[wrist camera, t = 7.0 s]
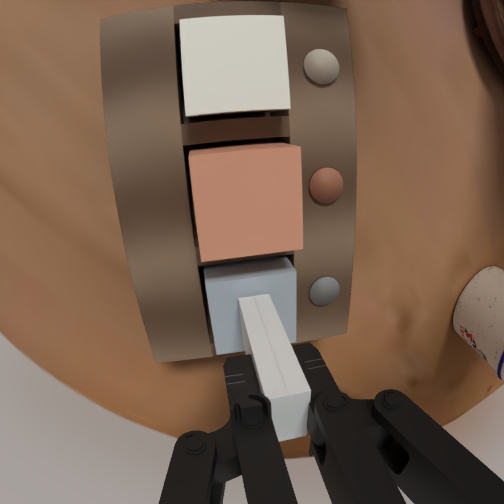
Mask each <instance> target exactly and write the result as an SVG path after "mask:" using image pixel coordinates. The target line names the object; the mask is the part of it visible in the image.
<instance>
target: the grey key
mask: <svg viewBox="0 0 504 504" xmlns="http://www.w3.org/2000/svg"><path fill="white" fill-rule="evenodd" d="M204 275H205V286H206V292H207V299H208V305H209V312H210V318H211V324H212V330H213V336H214V342H215V348H216V354H217V355H220V354H227V353H234V352H241V351H245V349H244V345H243V339H242V329H241V320H240V310H239V300H238V298H243V297H250V296H257V295H264V294H269V295H270V298H271V300H272V302H273V304H274V307H275V309H276V311H277V314H278V316H279V318H280V321H281V323H282V325H283V327H284V330H285V332H286V334H287V337H288V339H289V341H290V343H295V342H296V270H295V269H294V267H293V266H292V264H291V263H290V261H289V260H288V258H287V257H286V255H281V256H273V257H265V258H258V259H250V260H242V261H234V262H227V263H219V264H211V265H204Z"/></svg>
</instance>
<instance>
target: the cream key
mask: <svg viewBox="0 0 504 504" xmlns="http://www.w3.org/2000/svg"><path fill="white" fill-rule="evenodd" d="M179 20H180V41H181V59H182V75H183V89H184V102H185V114H186V117H187V118H188V119H192V118H201V117H210V116H221V115H233V114H248V113H266V112H272V111H279V110H285V109H291V105H290V90H289V75H288V62H287V49H286V37H285V26H284V16H277V15H233V16H213V17H199V18H189V19H179Z"/></svg>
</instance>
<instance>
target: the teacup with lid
mask: <svg viewBox="0 0 504 504" xmlns="http://www.w3.org/2000/svg"><path fill="white" fill-rule="evenodd" d="M453 325H454V329H455V331H456V332H457V333H458V334H459V335H460V336H461V337H462V338H463V339H464V340H465V341H466V342H467V343H468V344H469V345H470V346H471V347H472V348H473V349H474V350H475V351H476V352H477V353H478V354H479V355H480V356H481V357H482V358H483V359H484V360H485V361H486V362H487V363H488V364H489V365H490V366H491V367H492V368H493V369H494V370H495V371H496V372H497V375H498V377H499V378H500V379H501V380H504V271H503V270H501V269H500V268H498V267H495V266H490V267H487V268H484V269H483V270H481V271H480V272H478V273H477V274H476V275H475V276H474V277H473V278H472V279H471V280H470V281H469V283H468V284H467V285H466V287H465V288H464V290H463V291H462V293H461V295H460V297H459V299H458V301H457V304H456V307H455V310H454V315H453Z"/></svg>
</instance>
